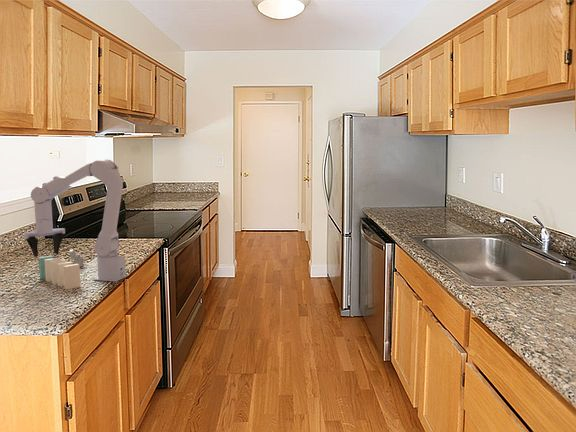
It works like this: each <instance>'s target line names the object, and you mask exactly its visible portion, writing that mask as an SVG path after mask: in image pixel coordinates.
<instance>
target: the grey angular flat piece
mask: <svg viewBox="0 0 576 432" xmlns="http://www.w3.org/2000/svg"><path fill="white" fill-rule="evenodd" d="M68 253H69V256H70V259H71V260H73V264H79V266H80V268H82V267H84V257H83V255H81V253H76V250H75V249H70V250H69V251H68Z"/></svg>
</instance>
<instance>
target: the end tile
mask: <svg viewBox="0 0 576 432" xmlns="http://www.w3.org/2000/svg"><path fill="white" fill-rule="evenodd" d="M52 258H55V257H54V255H47V256H41V257H40V256H38V271H39V279H40V280H46V276H45V259H52Z"/></svg>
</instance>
